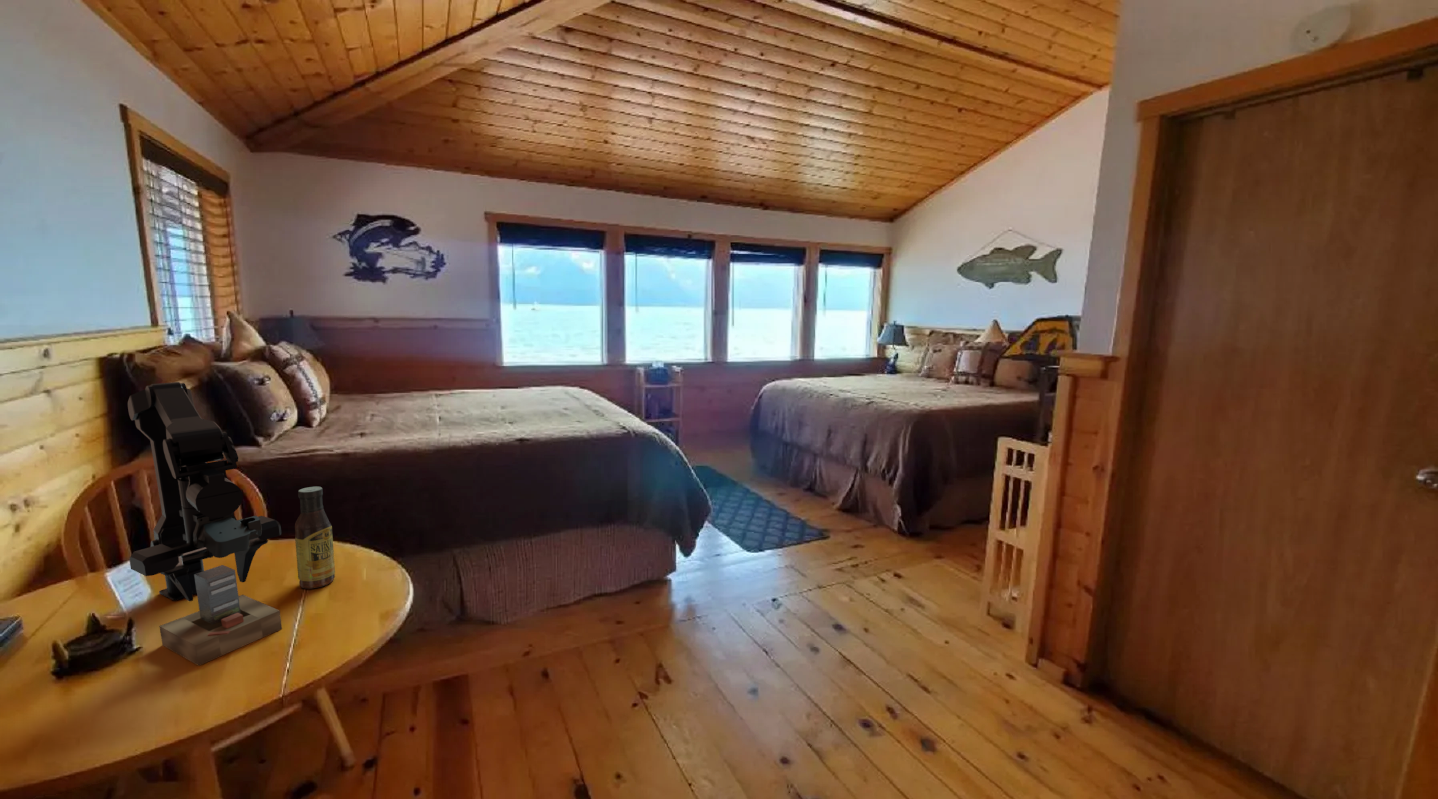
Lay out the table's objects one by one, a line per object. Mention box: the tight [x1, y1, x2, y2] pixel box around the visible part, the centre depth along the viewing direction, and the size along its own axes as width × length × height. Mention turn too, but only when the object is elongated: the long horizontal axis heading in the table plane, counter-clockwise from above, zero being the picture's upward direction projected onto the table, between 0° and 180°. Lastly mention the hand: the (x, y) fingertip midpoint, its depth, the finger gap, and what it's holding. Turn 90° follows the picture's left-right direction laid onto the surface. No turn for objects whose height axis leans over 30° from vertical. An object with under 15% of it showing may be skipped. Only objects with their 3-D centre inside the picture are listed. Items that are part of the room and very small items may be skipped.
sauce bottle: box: [294, 486, 336, 590], centre depth 120 cm, size 7×6×20 cm
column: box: [194, 564, 241, 624], centre depth 101 cm, size 5×4×8 cm
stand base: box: [159, 594, 283, 666], centre depth 101 cm, size 13×12×5 cm
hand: (217, 590), depth 100 cm, fingers open, 7 cm apart
